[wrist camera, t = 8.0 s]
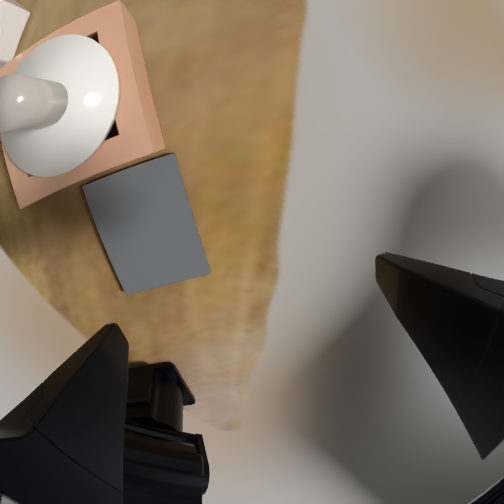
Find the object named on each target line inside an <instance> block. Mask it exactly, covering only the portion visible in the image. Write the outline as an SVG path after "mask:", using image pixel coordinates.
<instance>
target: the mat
mask: <svg viewBox="0 0 504 504" xmlns="http://www.w3.org/2000/svg"><path fill="white" fill-rule="evenodd" d="M82 188H83V191H84V194H85V197H86V200H87V202H88V205H89V208H90V211H91V214H92V216H93V219H94V222H95V224H96V227H97V229H98V232H99V234H100V237H101V239H102V242H103V244H104V247H105V249H106V251H107V254H108V256H109V258H110V261H111V263H112V265H113V268H114V270H115V272H116V274H117V276H118V279H119V281H120V283H121V285H122V287H123V289H124V291H125V293H126V295H128V294H132V293H136V292H140V291H144V290H148V289H152V288H156V287H160V286H164V285H168V284H172V283H176V282H180V281H184V280H187V279H191V278H195V277H199V276H203V275H207V274H210V267H209V264H208V261H207V258H206V255H205V252H204V249H203V246H202V243H201V239H200V236H199V233H198V230H197V227H196V223H195V220H194V217H193V214H192V210H191V207H190V204H189V200H188V197H187V194H186V190H185V187H184V183H183V180H182V177H181V173H180V170H179V166H178V162H177V159H176V155H175V153H172V154H168V155H165V156H162V157H159V158H156V159H153V160H150V161H147V162H144V163H141V164H138V165H135V166H132V167H130V168H127V169H124V170H121V171H119V172H116V173H113V174H111V175H108V176H106V177H103V178H101V179H98V180H96V181H93V182H91V183H88V184H86V185H84V186H82Z"/></svg>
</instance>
